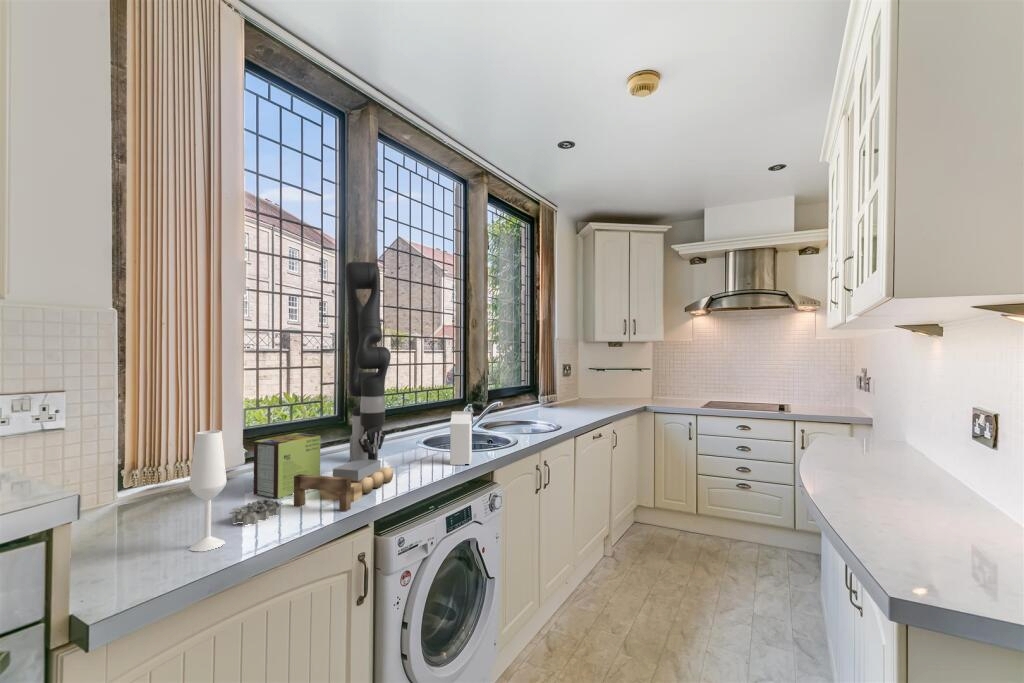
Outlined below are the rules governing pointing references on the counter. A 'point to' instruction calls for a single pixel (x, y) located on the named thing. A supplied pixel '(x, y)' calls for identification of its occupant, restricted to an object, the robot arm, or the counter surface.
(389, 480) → the roller bed
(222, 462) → the champagne flute
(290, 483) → the protein box
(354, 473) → the slab
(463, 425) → the milk carton
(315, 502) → the counter surface
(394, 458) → the counter surface
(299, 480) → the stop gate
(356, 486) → the oak skid
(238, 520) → the egg carton
